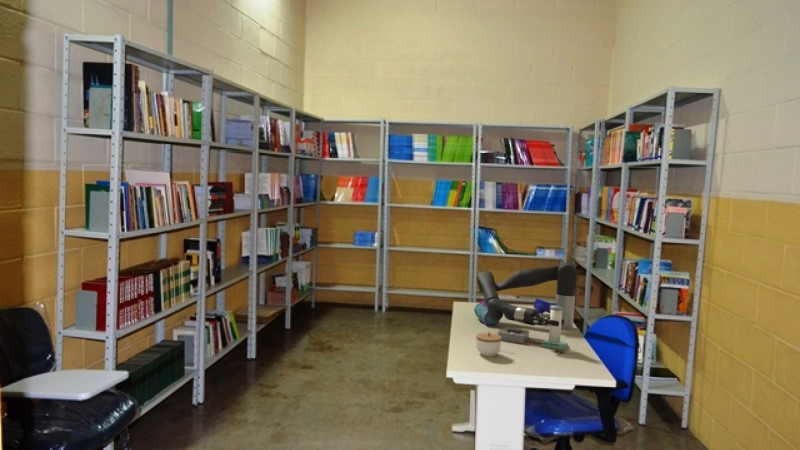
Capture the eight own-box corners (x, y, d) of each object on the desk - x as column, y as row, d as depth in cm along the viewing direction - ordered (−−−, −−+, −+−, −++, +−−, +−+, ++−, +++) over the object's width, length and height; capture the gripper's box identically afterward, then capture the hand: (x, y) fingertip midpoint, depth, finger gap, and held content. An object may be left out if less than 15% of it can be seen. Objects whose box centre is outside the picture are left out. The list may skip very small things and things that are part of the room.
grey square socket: (505, 334, 270) (505, 326, 270) (528, 338, 266) (529, 330, 265) (499, 339, 260) (499, 331, 260) (523, 343, 256) (524, 335, 255)
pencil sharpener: (566, 327, 296) (568, 303, 295) (533, 326, 293) (535, 302, 292) (555, 320, 310) (556, 297, 309) (523, 319, 307) (525, 296, 306)
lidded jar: (506, 356, 240) (507, 334, 239) (485, 359, 234) (487, 337, 233) (489, 349, 249) (491, 328, 248) (470, 352, 243) (471, 330, 243)
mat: (544, 340, 262) (544, 340, 262) (567, 344, 258) (567, 343, 258) (540, 346, 253) (540, 345, 253) (563, 349, 249) (563, 349, 249)
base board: (503, 335, 272) (503, 333, 272) (567, 345, 260) (567, 343, 260) (495, 342, 260) (495, 340, 259) (562, 353, 247) (562, 351, 247)
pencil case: (500, 328, 286) (502, 309, 285) (483, 328, 285) (484, 309, 284) (488, 318, 307) (490, 300, 306) (472, 318, 305) (473, 300, 305)
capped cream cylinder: (549, 339, 259) (551, 304, 257) (561, 341, 257) (563, 306, 255) (547, 342, 254) (549, 306, 253) (559, 344, 252) (561, 308, 251)
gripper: (532, 321, 270) (567, 328, 259) (518, 326, 258) (553, 334, 248) (534, 305, 269) (568, 312, 258) (519, 310, 258) (554, 317, 247)
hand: (561, 323), depth 253 cm, fingers closed on capped cream cylinder, 5 cm apart
